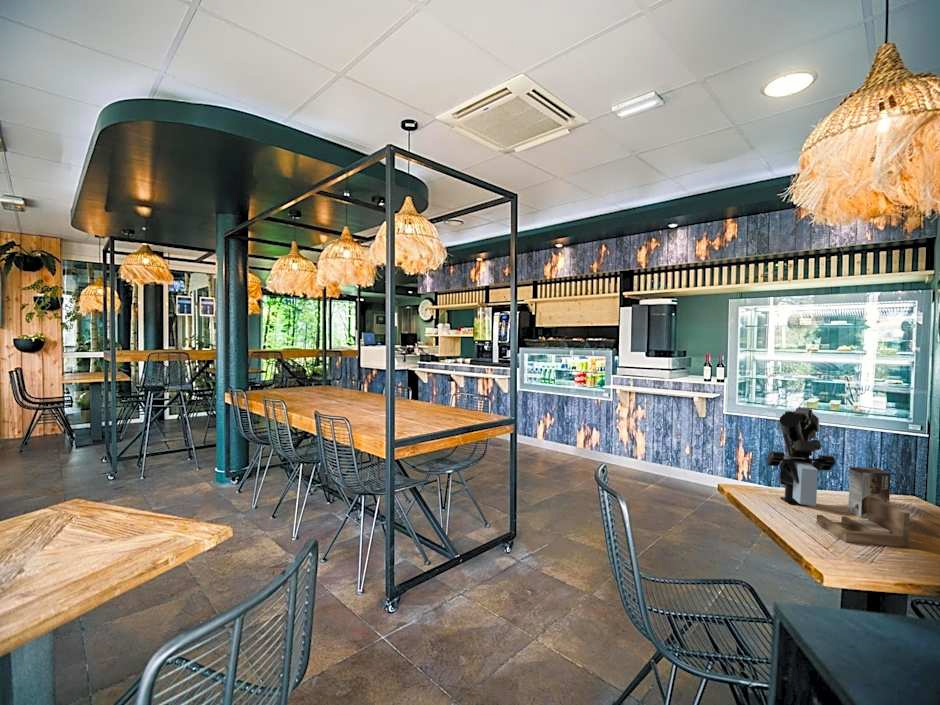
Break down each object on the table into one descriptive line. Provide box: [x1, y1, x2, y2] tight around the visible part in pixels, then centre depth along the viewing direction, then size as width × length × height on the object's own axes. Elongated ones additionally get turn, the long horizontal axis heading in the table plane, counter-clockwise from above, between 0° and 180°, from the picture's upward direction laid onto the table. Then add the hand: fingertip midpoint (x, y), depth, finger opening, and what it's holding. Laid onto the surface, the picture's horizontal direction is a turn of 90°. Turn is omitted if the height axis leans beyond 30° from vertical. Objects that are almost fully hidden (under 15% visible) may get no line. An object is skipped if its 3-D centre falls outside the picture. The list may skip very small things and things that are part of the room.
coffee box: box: [847, 466, 891, 519], centre depth 157 cm, size 9×6×16 cm
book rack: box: [815, 497, 911, 548], centre depth 140 cm, size 14×17×10 cm
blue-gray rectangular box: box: [793, 463, 819, 507], centre depth 149 cm, size 6×4×12 cm
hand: (806, 483), depth 148 cm, fingers closed on blue-gray rectangular box, 4 cm apart
